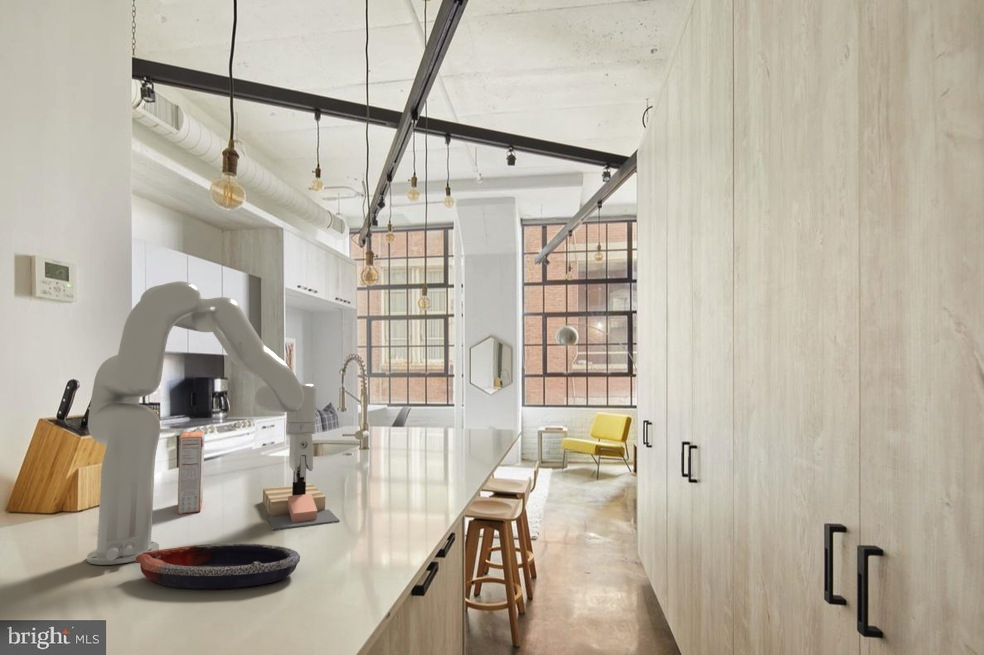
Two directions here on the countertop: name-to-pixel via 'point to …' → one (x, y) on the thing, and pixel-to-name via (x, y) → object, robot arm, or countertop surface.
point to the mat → (286, 521)
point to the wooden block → (278, 499)
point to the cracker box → (190, 472)
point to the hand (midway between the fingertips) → (298, 496)
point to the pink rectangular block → (302, 507)
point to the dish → (218, 565)
